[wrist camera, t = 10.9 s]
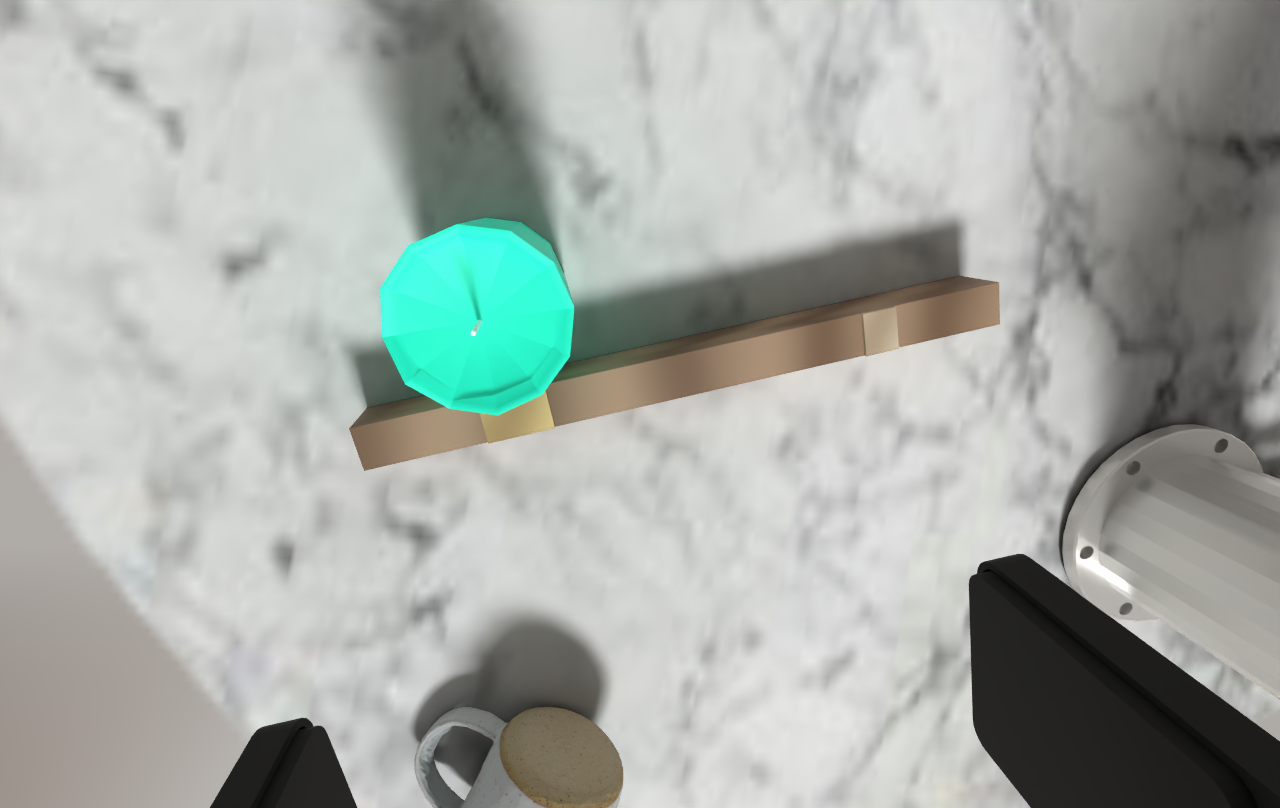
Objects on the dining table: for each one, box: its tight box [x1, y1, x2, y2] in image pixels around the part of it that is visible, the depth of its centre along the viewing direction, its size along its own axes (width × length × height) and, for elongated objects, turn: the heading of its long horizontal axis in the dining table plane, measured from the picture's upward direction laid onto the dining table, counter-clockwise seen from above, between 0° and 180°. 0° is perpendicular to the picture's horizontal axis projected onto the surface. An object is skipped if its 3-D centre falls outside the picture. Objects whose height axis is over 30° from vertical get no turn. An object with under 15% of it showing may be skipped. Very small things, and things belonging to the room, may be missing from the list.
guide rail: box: [349, 276, 1000, 471], centre depth 31 cm, size 30×2×3 cm, turn 101°
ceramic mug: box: [415, 707, 623, 808], centre depth 34 cm, size 11×8×8 cm
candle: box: [380, 218, 575, 415], centre depth 24 cm, size 6×6×12 cm
